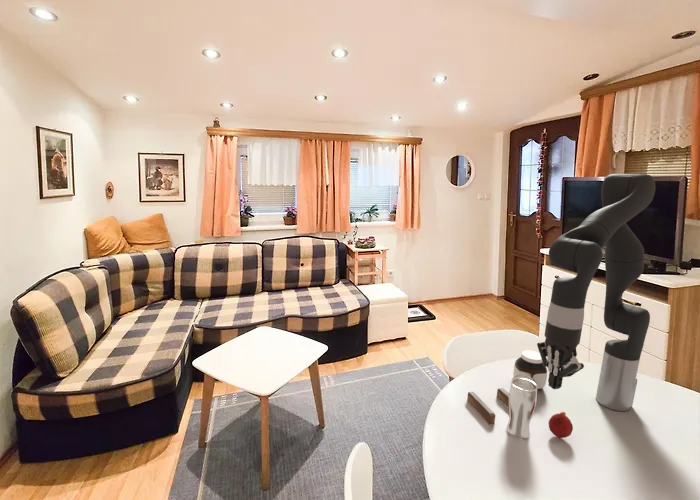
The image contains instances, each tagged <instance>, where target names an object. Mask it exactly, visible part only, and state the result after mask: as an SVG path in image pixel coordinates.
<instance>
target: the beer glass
mask: <svg viewBox="0 0 700 500" xmlns="http://www.w3.org/2000/svg"><path fill="white" fill-rule="evenodd" d="M508 393H509V408H508V410H509V411H508V412H509V413H508V414H509V419H508V422H507V425H506V429H505V430H506V431H507V433H508V434H509V436H512V437H513V438H516V439H519V440H526V439H528V438H529V437H530V435H531V434H530V433H531V432H530V431H531V430H530V423H531V420H532V417H533V414H534V411H535V410H536V409H535V408H536V405H537V400H538V391H537V385H536V384H535V383H534V382H532V381H530V380H527V379H524V378H515V379H513V380H512V379H511V384H510V387H509V392H508Z"/></svg>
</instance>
